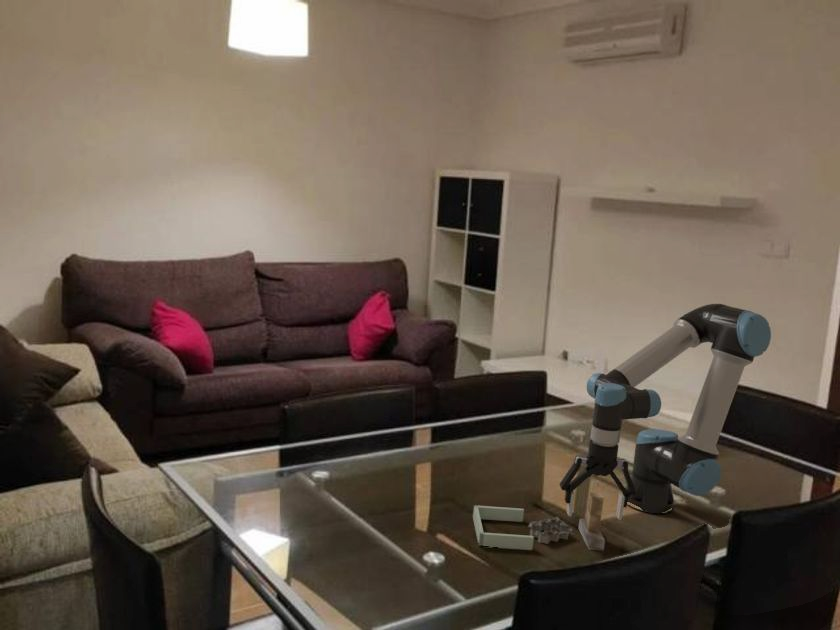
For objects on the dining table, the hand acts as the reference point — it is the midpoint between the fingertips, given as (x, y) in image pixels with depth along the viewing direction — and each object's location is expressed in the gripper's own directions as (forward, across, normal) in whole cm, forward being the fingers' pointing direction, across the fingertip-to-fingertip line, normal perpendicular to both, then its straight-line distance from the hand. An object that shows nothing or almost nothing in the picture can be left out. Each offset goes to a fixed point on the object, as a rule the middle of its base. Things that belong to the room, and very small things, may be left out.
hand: (593, 516), depth 210 cm
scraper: (+7, 0, 0) cm, 7 cm away
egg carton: (+7, +11, 0) cm, 13 cm away
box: (+7, +24, 0) cm, 25 cm away
